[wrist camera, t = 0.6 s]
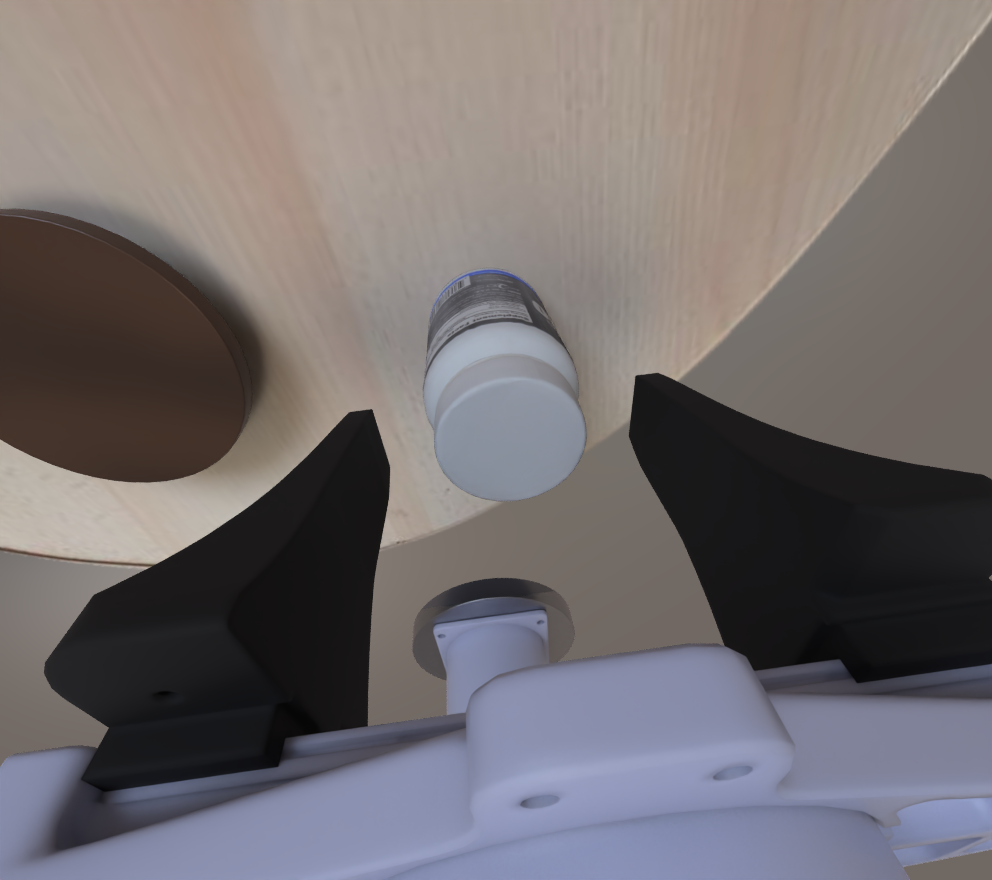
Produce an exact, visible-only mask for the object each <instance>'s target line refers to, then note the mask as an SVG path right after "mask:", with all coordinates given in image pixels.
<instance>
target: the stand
mask: <svg viewBox="0 0 992 880" xmlns="http://www.w3.org/2000/svg"><path fill="white" fill-rule="evenodd" d="M251 403H252V386H251V378H250V374H249V370H248V366H247V362H246V360H245V357H244V355H243V352H242V350H241V347H240V345H239V343H238V342H237V340H236V338H235V336H234V334H233V333H232V331H231V329H230V328H229V326H228V325H227V323H226V322H225V321H224V319H223V318H222V316H221V315H220V314H219V312H218V311H217V310H216V309H215V308H214V306H213V305H212V304H211V303H210V302H209V301H208V300H207V298H206V297H205V296H204V295H203V294H202V293H201V292H200V291H199V290H198V289H197V288H195V287H194V286H193V285H192V284H191V283H190V282H189V281H188V280H187V279H186V278H185V277H183V276H182V275H181V274H180V273H178V272H177V271H176V270H174V269H173V268H172V267H171V266H169V265H168V264H167V263H165V262H164V261H162V260H161V259H159V258H158V257H156V256H155V255H153V254H152V253H150V252H149V251H147V250H146V249H144V248H142V247H140V246H138V245H137V244H135V243H133V242H131V241H129V240H127V239H125V238H123V237H122V236H120V235H117V234H115V233H113V232H110V231H108V230H105V229H103V228H101V227H98V226H96V225H93V224H90V223H87V222H84V221H81V220H78V219H74V218H71V217H68V216H63V215H59V214H54V213H49V212H44V211H36V210H25V209H0V439H1V440H2V441H4V442H6V443H7V444H9V445H11V446H13V447H14V448H16V449H19V450H21V451H23V452H25V453H27V454H29V455H31V456H33V457H35V458H37V459H40V460H42V461H45V462H47V463H50V464H52V465H55V466H58V467H61V468H64V469H67V470H70V471H73V472H76V473H80V474H84V475H88V476H92V477H97V478H102V479H108V480H114V481H124V482H161V481H169V480H174V479H179V478H183V477H186V476H190V475H193V474H196V473H198V472H200V471H202V470H204V469H206V468H208V467H210V466H211V465H213V464H214V463H216V462H217V461H219V460H220V459H221V458H222V457H223V456H224V455H225V454H227V453H228V452H229V450H230V449H231V448H232V446H233V445H234V444H235V442H236V441H237V439H238V438H239V436H240V434H241V433H242V431H243V429H244V427H245V425H246V423H247V421H248V418H249V414H250V410H251Z"/></svg>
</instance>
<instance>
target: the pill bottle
mask: <svg viewBox="0 0 992 880" xmlns="http://www.w3.org/2000/svg"><path fill="white" fill-rule="evenodd" d="M578 397H579V383H578V377H577V372H576V369H575V366H574V363H573V360H572V358H571V356H570V354H569V353H568V351H567V349H566V347H565V345H564V343H563V342H562V340H561V338H560V336H559V335H558V333H557V331H556V329H555V327H554V325H553V324H552V321H551V319H550V318H549V316H548V314H547V312H546V310H545V308H544V306H543V304H542V302H541V300H540V299H539V297H538V295H537V294H536V292H535V291H534V290H533V288H532V287H531V286H530V285H529V284H528V283H527V282H526V281H524V280H523V279H522V278H520V277H518V276H517V275H515V274H513V273H511V272H508V271H506V270H502V269H496V268H482V269H476V270H472V271H468V272H466V273H463V274H461V275H460V276H458V277H456V278H454V279H453V280H452V281H451V282H449V283H448V284H447V285H446V286H445V287H444V289H443V290H442V291H441V292H440V294H439V295H438V297H437V299H436V300H435V303H434V305H433V307H432V311H431V315H430V321H429V330H428V344H427V357H426V369H425V380H424V385H423V398H424V405H425V410H426V414H427V417H428V420H429V422H430V424H431V426H432V428H433V430H434V447H435V453H436V457H437V460H438V462H439V465H440V467H441V469H442V471H443V472H444V474H445V475H446V476H447V477H448V478H449V479H450V481H452V482H453V483H454V484H455V485H456V486H457V487H459V488H460V489H462V490H464V491H465V492H467V493H469V494H471V495H474V496H476V497H479V498H482V499H488V500H494V501H517V500H523V499H528V498H532V497H535V496H537V495H540V494H542V493H545V492H547V491H549V490H551V489H552V488H554V487H555V486H557V485H558V484H560V483H561V482H562V481H564V480H565V479H566V478H567V477H568V476H569V475H570V474H571V472H572V471H573V470H574V469H575V467H576V466H577V464H578V463H579V461H580V459H581V456H582V454H583V452H584V448H585V444H586V424H585V419H584V416H583V413H582V410H581V408H580V405H579V402H578Z"/></svg>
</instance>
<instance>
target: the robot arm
mask: <svg viewBox="0 0 992 880" xmlns="http://www.w3.org/2000/svg"><path fill="white" fill-rule="evenodd" d="M629 438H630V440H631V443H632V446H633V449H634V451H635V454H636V456H637V459H638V461H639V464H640V466H641V468H642V470H643V471H644V473H645V475H646V477H647V478H648V480H649V482H650V484H651V485H652V487H653V489H654V491H655V492H656V494H657V496H658V497H659V499H660V501H661V503H662V504H663V506H664V508H665V510H666V511H667V513H668V515H669V517H670V518H671V520H672V522H673V523H674V525H675V527H676V529H677V531H678V533H679V534H680V537H681V538H682V540H683V542H684V545H685V547H686V549H687V552H688V554H689V556H690V559H691V561H692V563H693V566H694V568H695V570H696V573H697V575H698V578H699V580H700V582H701V585H702V587H703V590H704V592H705V595H706V597H707V600H708V602H709V605H710V607H711V610H712V613H713V616H714V618H715V621H716V624H717V626H718V629H719V632H720V634H721V637H722V640H723V643H724V645H725V646H723V645H720V644H681V645H674V646H667V647H660V648H653V649H646V650H639V651H632V652H624V653H618V654H610V655H604V656H596V657H590V658H582V659H575V660H568V661H561V662H554V663H549V643H548V617H547V612H546V611H545V610H534V611H527V612H520V613H512V614H505V615H498V616H491V617H484V618H476V619H469V620H462V621H455V622H448V623H440V624H437V625H435V626H434V628H433V633H434V636H435V639H436V642H437V645H438V648H439V651H440V654H441V658H442V661H443V664H444V667H445V670H446V673H447V715H444V716H437V717H430V718H423V719H416V720H409V721H402V722H395V723H388V724H381V725H374V726H368V679H369V678H368V677H369V651H370V632H371V615H372V614H371V613H372V600H373V587H374V578H375V571H376V565H377V559H378V554H379V549H380V544H381V539H382V533H383V528H384V523H385V517H386V512H387V506H388V500H389V487H390V465H389V462H388V459H387V455H386V452H385V449H384V446H383V443H382V439H381V436H380V433H379V430H378V426H377V423H376V420H375V417H374V413H373V410H372V409H370V410H363V411H355V412H349V413H348V414H347V415H346V416H345V417H344V418H343V419H342V420H341V421H340V422H339V423H338V424H337V425H336V427H335V428H334V429H333V430H332V431H331V432H330V433H329V434H328V435H327V436H326V437H325V438H324V439H323V440H322V441H321V443H320V444H319V445H318V446H317V447H316V448H315V449H314V450H313V451H312V452H311V453H310V454H309V455H308V456H307V457H306V458H305V459H304V460H303V461H302V462H301V463H300V464H299V465H297V466H296V467H295V468H294V469H293V470H292V471H291V472H290V473H289V474H288V475H287V476H286V477H285V478H284V479H283V480H281V481H280V482H279V483H278V484H277V485H276V486H275V487H273V488H272V489H271V490H270V491H269V492H267V493H266V494H265V495H263V496H262V497H261V498H260V499H258V500H257V501H256V502H254V503H253V504H252V505H251V506H249V507H248V508H247V509H245V510H244V511H242V512H241V513H239V514H238V515H236V516H235V517H233V518H232V519H230V520H229V521H228V522H226V523H225V524H223V525H222V526H220V527H219V528H217V529H216V530H214V531H213V532H211V533H210V534H208V535H206V536H205V537H203V538H202V539H200V540H198V541H197V542H195V543H193V544H192V545H190V546H188V547H187V548H185V549H183V550H181V551H179V552H178V553H176V554H174V555H172V556H171V557H169V558H167V559H165V560H163V561H161V562H160V563H158V564H156V565H154V566H152V567H150V568H148V569H146V570H144V571H142V572H140V573H138V574H136V575H134V576H132V577H130V578H128V579H126V580H124V581H122V582H120V583H118V584H116V585H114V586H112V587H110V588H108V589H106V590H103V591H101V592H99V593H97V594H95V595H94V596H93V597H92V598H91V600H90V601H89V603H88V604H87V605H86V607H85V608H84V610H83V611H82V612H81V614H80V615H79V616H78V618H77V619H76V620H75V622H74V623H73V625H72V626H71V627H70V629H69V630H68V631H67V633H66V634H65V636H64V637H63V638H62V640H61V641H60V643H59V644H58V645H57V647H56V648H55V650H54V651H53V652H52V654H51V655H50V657H49V658H48V659H47V661H46V662H45V669H44V674H45V676H46V678H47V680H48V682H49V684H50V686H51V688H52V689H53V690H55V691H56V692H57V693H58V694H59V695H60V696H62V697H63V698H64V699H66V700H67V701H69V702H70V703H72V704H73V705H75V706H76V707H78V708H79V709H81V710H83V711H84V712H86V713H87V714H89V715H90V716H92V717H93V718H95V719H96V720H98V721H100V722H101V723H103V724H104V725H106V726H107V727H109V729H108V731H107V733H106V735H105V736H104V738H103V740H102V742H101V744H100V745H99V747H98V748H95V747H90V746H83V745H81V746H66V747H59V748H52V749H45V750H38V751H31V752H24V753H17V754H14V755H11V756H9V757H7V758H6V759H5V761H4V762H3V764H2V765H1V767H0V880H910V878H909V877H908V875H907V873H906V872H905V870H904V868H903V867H906V866H911V865H916V864H921V863H926V862H931V861H936V860H941V859H946V858H951V857H957V856H962V855H967V854H972V853H977V852H981V851H987V850H992V581H991V580H990V579H989V577H990V576H991V575H992V480H991V479H990V478H988V477H986V476H984V475H981V474H974V473H968V472H961V471H955V470H949V469H942V468H936V467H930V466H923V465H917V464H911V463H906V462H901V461H896V460H891V459H887V458H882V457H877V456H872V455H868V454H864V453H860V452H856V451H852V450H848V449H844V448H840V447H836V446H833V445H829V444H826V443H822V442H818V441H815V440H812V439H809V438H806V437H802V436H799V435H796V434H793V433H791V432H788V431H785V430H782V429H779V428H777V427H774V426H771V425H769V424H766V423H763V422H761V421H759V420H756V419H754V418H752V417H749V416H747V415H745V414H742V413H740V412H738V411H736V410H733V409H731V408H729V407H727V406H725V405H723V404H720V403H719V402H716V401H714V400H713V399H711V398H708V397H706V396H705V395H702V394H701V393H699V392H697V391H695V390H692V389H691V388H689V387H687V386H685V385H683V384H681V383H679V382H677V381H675V380H673V379H671V378H669V377H667V376H664V375H662V374H659V373H653V374H645V375H637V376H636V377H635V386H634V395H633V403H632V412H631V421H630V430H629Z"/></svg>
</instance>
